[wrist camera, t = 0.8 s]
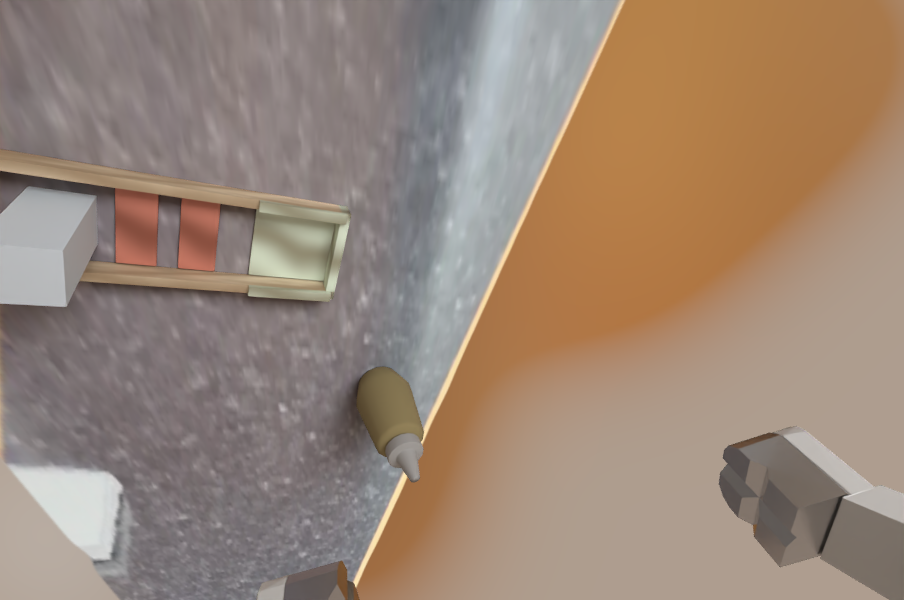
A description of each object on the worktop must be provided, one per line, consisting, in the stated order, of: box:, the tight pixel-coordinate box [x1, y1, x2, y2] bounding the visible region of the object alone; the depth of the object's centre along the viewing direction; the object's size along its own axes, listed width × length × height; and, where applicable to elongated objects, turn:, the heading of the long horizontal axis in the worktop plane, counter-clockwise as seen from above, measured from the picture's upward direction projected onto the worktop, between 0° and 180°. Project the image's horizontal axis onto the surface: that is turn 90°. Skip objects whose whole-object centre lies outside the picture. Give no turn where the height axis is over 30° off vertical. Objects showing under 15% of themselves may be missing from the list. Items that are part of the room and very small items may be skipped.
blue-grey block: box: [0, 186, 98, 307], centre depth 40 cm, size 5×5×12 cm
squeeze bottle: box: [356, 367, 424, 482], centre depth 63 cm, size 8×8×18 cm
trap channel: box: [0, 149, 351, 302], centre depth 48 cm, size 11×32×3 cm, turn 72°
